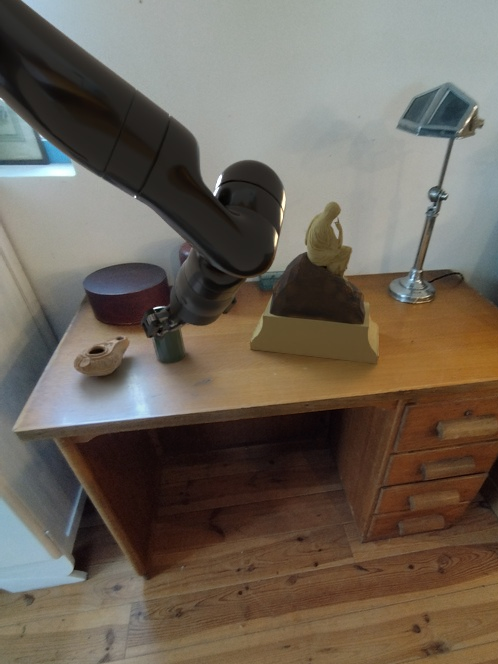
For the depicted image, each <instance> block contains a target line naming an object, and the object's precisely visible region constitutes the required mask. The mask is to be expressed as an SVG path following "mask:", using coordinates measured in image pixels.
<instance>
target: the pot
mask: <svg viewBox="0 0 498 664" xmlns="http://www.w3.org/2000/svg"><path fill="white" fill-rule="evenodd" d="M167 306H168V305H166V306H165V305H161V306H156V307H153V308H152V309H154V310H155V311H156V313H159V312H160V311H161V310H163V309H164V308H166V307H167ZM161 323H162V326H163V328H165V323H164V321H162V322H161ZM174 324H177V322H174ZM151 341H152V345H153V348H154V352H155V356H156V359H157V360H158V361H159V362H160V363H164V364H173V363H177V362H179V361H181V360H182V359H184V358H185V356H186V348H185V342H184V338H183V333H182V327H181V328H180V329H178V330H176V331H168V332H167V333H166V334H165V336H164V338H163V339H162V340H158V339H157V338H156V339H154V337H152V338H151Z"/></svg>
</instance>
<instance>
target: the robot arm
mask: <svg viewBox="0 0 498 664" xmlns="http://www.w3.org/2000/svg"><path fill="white" fill-rule="evenodd" d="M0 100H1V101H2V102H4V103H5V104H6V105H7V106H8V107H9V108H10V109H11V110H12V111H13V112H14V113H16V115H18V116H19V117H20V118H21V119H22V120H23V121H24V122H25V123H26V124H27V125H28V126H30V128H31V129H33V130H34V131H35V132H36V133H37V134H38V135H40V136H41V137H42V138H43V139H44V140H46V141H47V142H48V143H49V144H50V145H52V146H53V147H54V148H55V149H57V150H58V151H59V152H61V153H62V154H63V155H65V156H66V157H68V158H69V159H70V160H72V161H73V162H74V163H76V164H77V165H79V166H80V167H82V168H83V169H85V170H87V171H88V172H90V173H92V174H93V175H95V176H96V177H98V178H99V179H102V180H103V181H105V182H107V183H108V184H110V185H112V186H114V187H115V188H117V189H119V190H120V191H122V192H123V193H125V194H127V195H128V196H129V197H131V198H134V199H135V200H137V201H138V202H140V203H142V204H144V205H145V206H147V207H148V208H150V209H151V211H153V212H154V213H155V214H157V215H158V216H159V217H160V219H162V220H163V222H165V223H166V225H168V226H169V227H170V228H171V229H172V230H174V232H176V233H177V234H178V235H179V236H180V237H181V238H182V239H183V240H184V241H185V242H186V243H187V244H188V245H189V246H190V247H191V248H190V250H189V252H188V255H187V258H186V259H185V260H184V262H183V263H182V265H180V268H179V270H178V272H177V275H176V278H175V279H174V282H173V285H172V287H171V290H170V293H169V304H168V305H166V306H167V307H166V308H164V309H163V310H161V311H160V312H159V313H156V311H155V310H154V309H153V308H148V309H147V310H145V312H144V314H143V316H142V318H141V321H140V326H141V327H142V329H143V332H144V333H145V336H146V338H147V339H152V337H154V339H156V338H157V339H158V340H162V339H163V338H164V336H165V334H166V333H167V332H168V331H176V330H178V329H180V328H181V329H182V328H183V327H184V326H189V325H192V326H196V327H203V326H204V327H205V326H209V325H211V324H213V323H215V322H217V320H218V319H219V318H220V317H221V315H227V314H229V313H230V311H231V310H232V309H233V308H234V306H235V305H236V304H237V302H238V300H237V299H236V295H237V293H238V291H239V290H240V289H241V288H242V286H243V285H244V284H245V282H246V281H247V280H248V279H254V278H258V277H261V276H263V275H264V274H266V273H267V272H268V271H269V270H270V269H271V267H272V266H273V263H274V261H275V258H276V255H277V251H278V246H279V242H280V241H279V240H280V236H281V232H282V227H283V222H284V219H285V214H286V210H287V209H286V208H287V194H286V189H285V186H284V184H283V181H282V180H281V177H280V176H279V175H278V173H277V172H276V171H275V170H274V169H273V168H272V167H271V166H270V165H268V164H267V163H264V162H262V161H259V160H257V159H256V160H255V159H242V160H238V161H235V162H233V163H231V164H229V165H228V166H227V167H226V168H224V170H222V172H221V173H220V174H219V176H218V178H217V179H216V182H215V185H214V187H213V190H212V191H211V189H210V188H209V187H208V186H207V184H206V183H205V181H204V178H203V176H202V170H201V169H202V168H201V149H200V148H201V147H200V144H199V141H198V138H197V137H196V136H195V134H193V132H192V131H191V130H190V129H189V128H188V127H186V126H185V125H184V123H182V122H180V121H179V120H178V119H177V118H175V117H174V116H173V115H170V113H168V112H167V111H166V110H164V108H162V107H161V106H159V104H157V103H156V102H155V101H153V100H152V99H150V98H149V97H148V96H147V95H145V93H143V92H141V91H140V90H139V89H137V88H136V87H135V86H134V85H133V84H131V83H130V82H128V81H127V80H125V78H123V77H122V76H120V75H119V74H118V73H116V72H115V71H114V70H113V69H111V68H110V67H109V66H107V65H106V64H104V63H103V62H102V61H100V60H99V59H98V58H96V57H95V56H94V55H93V54H91V53H90V52H88V51H87V50H86V49H85V48H83V47H82V46H81V45H79V44H78V43H77V42H75V41H74V40H73V39H71V38H70V37H69V36H68V35H66V34H65V33H64V32H62V30H60V29H59V28H57V27H56V26H55V25H53V24H52V23H51V22H50V21H48V20H47V19H46V18H44V17H43V16H42V15H41V14H39V13H38V12H37V11H36V10H35V9H33V8H32V7H31V6H30V5H28V4H27V3H26V2H25V1H23V0H0ZM162 321H164V323H165V328H163V326H162V323H161V322H162ZM174 322H177V324H174Z"/></svg>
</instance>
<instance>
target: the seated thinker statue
mask: <svg viewBox="0 0 498 664" xmlns="http://www.w3.org/2000/svg"><path fill="white" fill-rule="evenodd" d="M341 211H342V208H341V206H340V204H339V203H338V202H336V201H331V202H328V203H327V204H326V205H325V206H324V208H323V211H322V212H319V213H318V214H316V215H313V217H312V219H311V220H310V222H309V224H308V226H307V229H306V232H305V236H304V237H305V238H304V246H306V249H307V250H306V251H305V252H302V253H299V254H298V255H297V256H296V257H294V258H292V260H291V261H290V262H289V263H288V264H287V265H286V267H285V269H284V271H283V272H282V274H281V275H280V276H279V277H278V278H277V279H276V280H275V281H274V282H273V284H272V293H271V297H270V299H269V301H268V303H267V305H266V307H265V310H264V311H263V313H262V314H261V316H260V318H259V321H258V322H257V325H256V327H255V330H254V332H253V333H252V336H251V338H250V339H249V349H250V350H252V351H253V350H254V351H262V352H271V353H279V354H288V355H296V356H306V357H314V358H322V359H330V360H339V361H340V360H341V361H349V362H356V363H357V362H358V363H367V364H376V365H378V362H379V357H380V333H379V332H380V329H379V328H380V326H379V325H380V324H377V323H376V322H375V321H373V320H372V318H371V316H370V303H371V302H369V301H365V295H364V293H363V291H362V290H361V289H360V288H359V287H358V285H357V286H356V285H355V284H354V283H353V282H352V281H350V279H349V278H348V277H347V276H346V275H345V273H346V271H347V270H348V266H349V263H350V259H351V257H352V253H353V247H351V246H350V245H343V242H344V231H343V227H342V225H341V222H340V218H338V216H339V215H340V214H341ZM336 218H337V221H335V220H336ZM332 224H334V225H335V227H336V229H337V230H338V236H336V235H337V234H336V233H335V230H334V229H335V228H333V226H332Z"/></svg>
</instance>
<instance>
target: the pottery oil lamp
mask: <svg viewBox="0 0 498 664" xmlns="http://www.w3.org/2000/svg"><path fill="white" fill-rule="evenodd" d="M130 342H131V341H130V340H129V338H128V337H127V335H117V336H114V337H112V338H110V339H107V340H105V341H102V342H99V343H95V344H93V345H91V346H90V347H87V348H85V349H83V350H82V351H80V353H78V355H77V356H76V357H75V359H74V361H73V368H74V369H75V371H77V372H79V373H80V374H83V375H85V376H95V377H105V376H109V375H111V374H112V373H114V372H115V371H116V369H118V367H119V366H121V364H122V362H123V358H124V355H125V353H126V351H127V350H128V348H129V347H130V344H131V343H130Z"/></svg>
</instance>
